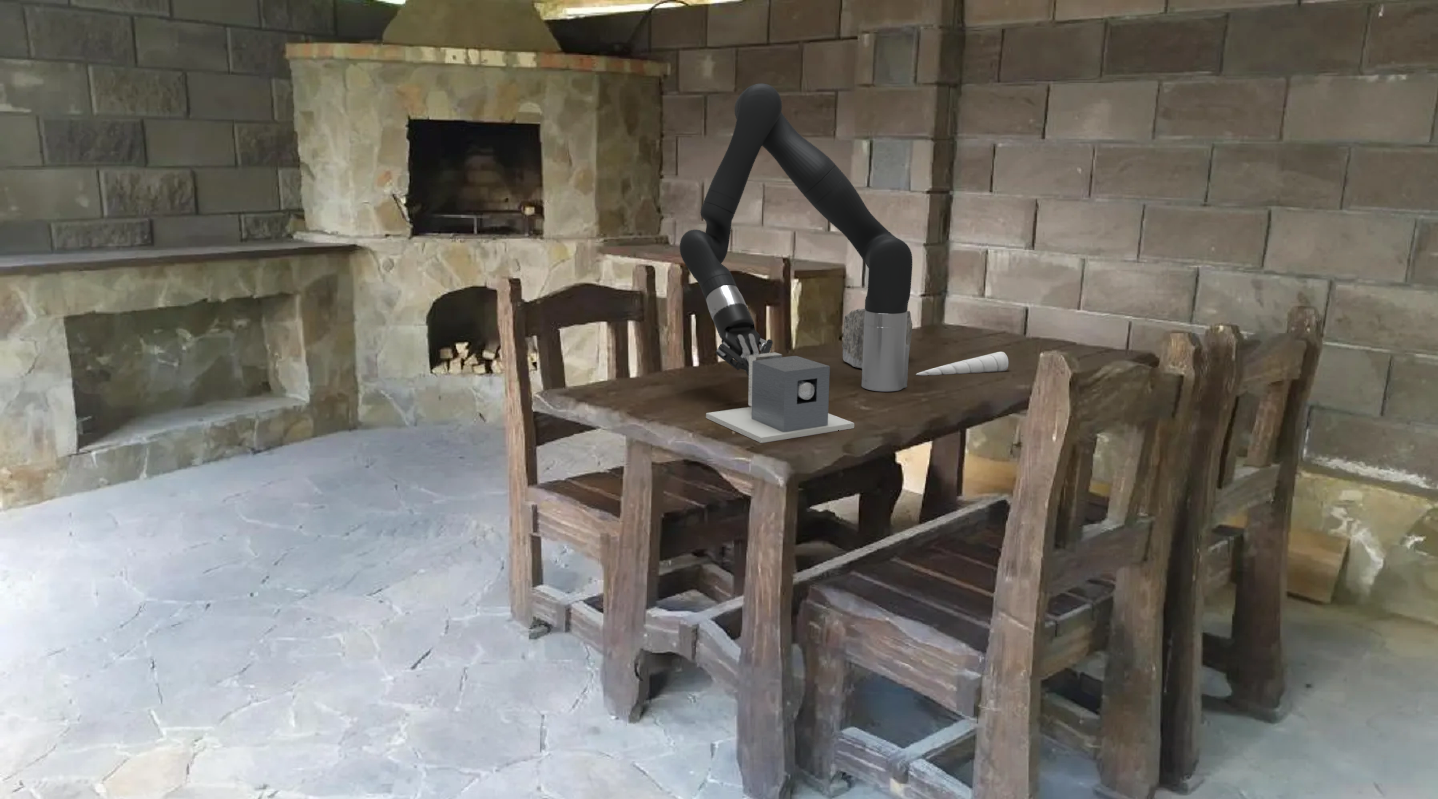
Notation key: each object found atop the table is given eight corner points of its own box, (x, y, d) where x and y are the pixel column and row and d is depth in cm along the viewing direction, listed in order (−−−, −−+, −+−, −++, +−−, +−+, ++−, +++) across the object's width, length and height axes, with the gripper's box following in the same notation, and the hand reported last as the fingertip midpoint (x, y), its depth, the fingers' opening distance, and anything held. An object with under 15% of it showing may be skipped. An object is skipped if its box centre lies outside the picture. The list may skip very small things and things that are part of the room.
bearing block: (794, 412, 203) (795, 355, 201) (827, 425, 194) (829, 366, 191) (751, 418, 198) (752, 360, 196) (783, 432, 189) (785, 371, 186)
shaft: (773, 401, 206) (774, 352, 203) (819, 419, 193) (821, 366, 190) (748, 405, 203) (749, 355, 200) (793, 423, 190) (794, 370, 187)
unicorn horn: (908, 373, 245) (909, 353, 244) (999, 369, 251) (1000, 349, 250) (917, 377, 241) (918, 357, 240) (1009, 373, 247) (1010, 353, 246)
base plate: (794, 405, 213) (794, 400, 213) (854, 428, 196) (854, 423, 196) (705, 418, 203) (705, 413, 202) (761, 443, 186) (761, 437, 186)
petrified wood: (887, 354, 267) (890, 296, 263) (931, 366, 252) (934, 305, 248) (827, 360, 258) (829, 301, 254) (868, 374, 243) (871, 311, 240)
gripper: (708, 304, 205) (738, 377, 198) (764, 299, 211) (795, 370, 204) (694, 326, 210) (724, 397, 203) (749, 321, 217) (780, 390, 210)
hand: (760, 383), depth 204 cm, fingers closed
